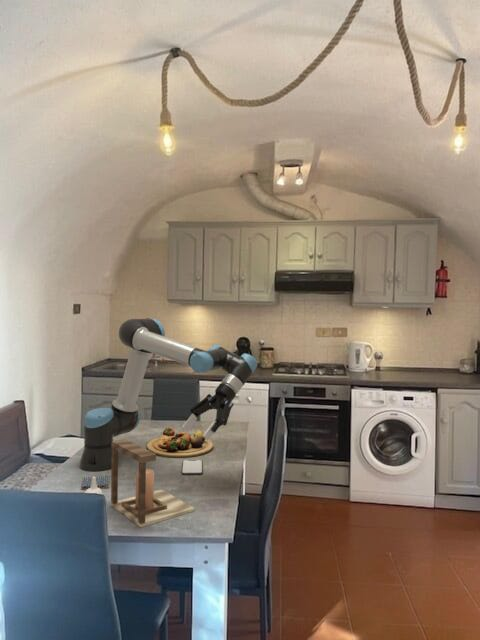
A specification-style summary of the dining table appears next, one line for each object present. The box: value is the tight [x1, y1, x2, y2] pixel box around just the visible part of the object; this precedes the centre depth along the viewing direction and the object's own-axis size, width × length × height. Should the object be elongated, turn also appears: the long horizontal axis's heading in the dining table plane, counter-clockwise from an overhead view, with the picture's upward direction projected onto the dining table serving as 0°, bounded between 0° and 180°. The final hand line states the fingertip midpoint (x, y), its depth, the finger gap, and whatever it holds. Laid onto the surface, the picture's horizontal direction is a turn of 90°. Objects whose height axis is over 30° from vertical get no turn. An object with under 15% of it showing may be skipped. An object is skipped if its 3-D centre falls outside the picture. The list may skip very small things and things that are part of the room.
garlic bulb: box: [84, 476, 104, 495], centre depth 174 cm, size 6×6×8 cm
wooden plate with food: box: [145, 426, 214, 459], centre depth 238 cm, size 32×32×8 cm
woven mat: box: [80, 475, 111, 491], centre depth 188 cm, size 10×11×2 cm
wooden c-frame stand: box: [110, 438, 195, 528], centre depth 167 cm, size 21×20×22 cm
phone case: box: [181, 459, 204, 476], centre depth 208 cm, size 9×2×16 cm
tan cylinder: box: [134, 468, 155, 510], centre depth 165 cm, size 6×6×12 cm
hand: (194, 433), depth 179 cm, fingers open, 13 cm apart
